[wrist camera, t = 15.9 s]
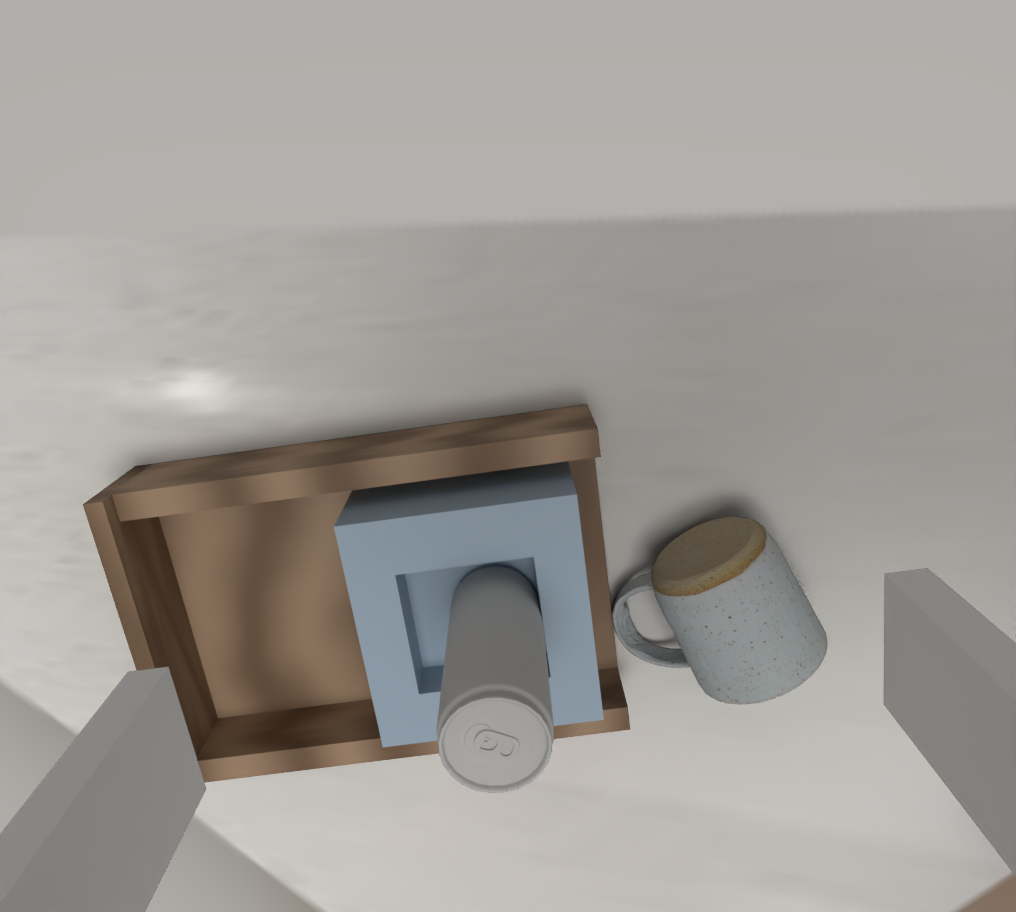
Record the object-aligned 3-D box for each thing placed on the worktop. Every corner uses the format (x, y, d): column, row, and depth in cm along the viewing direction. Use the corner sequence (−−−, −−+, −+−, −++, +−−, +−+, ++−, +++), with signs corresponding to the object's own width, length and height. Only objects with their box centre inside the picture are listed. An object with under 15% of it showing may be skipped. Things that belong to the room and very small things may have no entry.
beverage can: (469, 549, 42) (458, 679, 31) (553, 578, 43) (574, 716, 31) (439, 625, 43) (418, 776, 32) (521, 652, 44) (529, 809, 33)
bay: (586, 404, 45) (600, 434, 39) (617, 679, 50) (632, 740, 44) (135, 466, 45) (82, 504, 40) (213, 730, 51) (177, 797, 45)
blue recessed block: (566, 456, 44) (577, 494, 39) (591, 658, 48) (603, 719, 42) (354, 485, 45) (333, 526, 39) (396, 683, 49) (382, 747, 43)
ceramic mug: (743, 490, 46) (786, 546, 39) (801, 598, 49) (852, 670, 41) (584, 574, 48) (597, 642, 41) (647, 675, 50) (669, 756, 43)
